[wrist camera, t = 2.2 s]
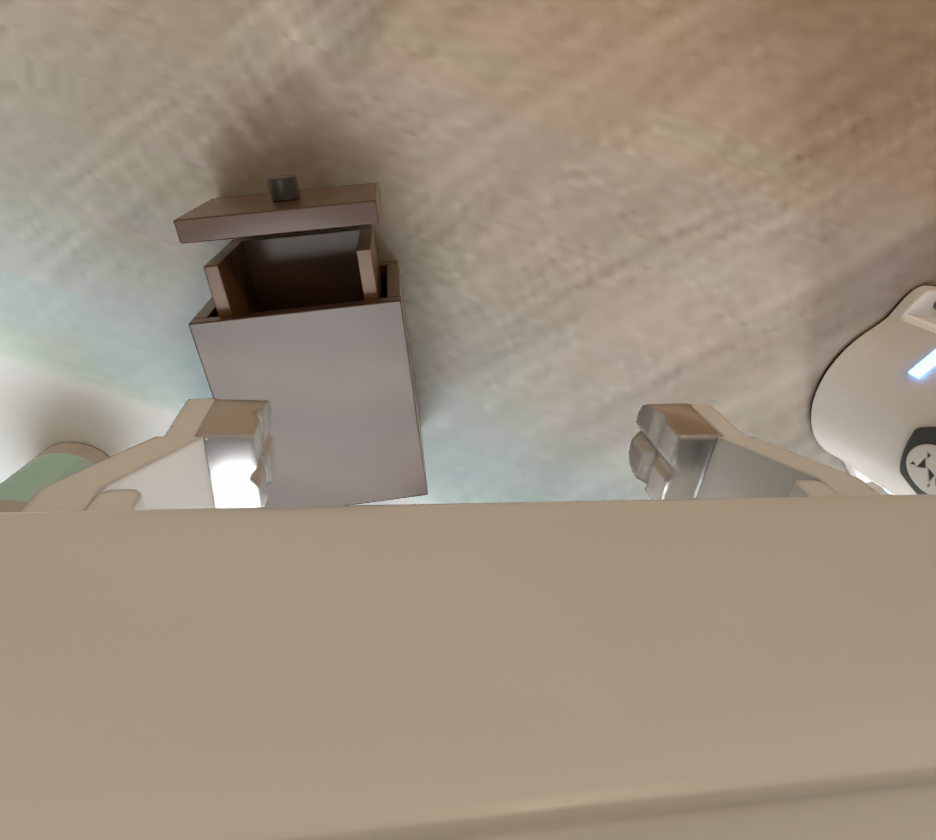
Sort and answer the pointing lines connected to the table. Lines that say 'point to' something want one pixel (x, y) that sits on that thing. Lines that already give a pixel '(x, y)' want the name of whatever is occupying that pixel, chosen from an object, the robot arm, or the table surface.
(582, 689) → the robot arm
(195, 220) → the drawer
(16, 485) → the coffee cup
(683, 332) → the table surface
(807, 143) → the table surface
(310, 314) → the cabinet
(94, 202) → the table surface
